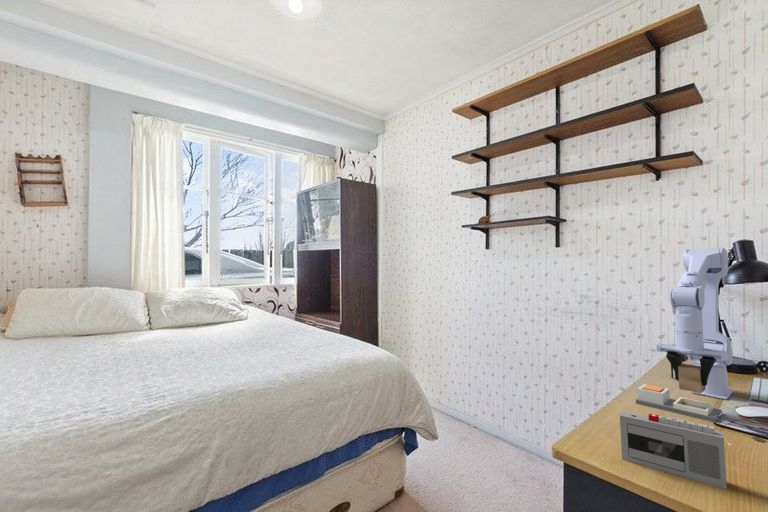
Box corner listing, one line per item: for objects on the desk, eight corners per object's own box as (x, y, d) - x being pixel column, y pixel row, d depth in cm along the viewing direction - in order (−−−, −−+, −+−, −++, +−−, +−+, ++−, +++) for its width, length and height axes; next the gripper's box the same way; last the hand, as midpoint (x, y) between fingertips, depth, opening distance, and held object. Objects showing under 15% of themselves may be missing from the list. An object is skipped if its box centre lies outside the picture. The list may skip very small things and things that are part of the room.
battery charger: (685, 381, 120) (683, 347, 121) (671, 378, 123) (669, 345, 124) (690, 377, 124) (688, 343, 125) (676, 374, 127) (675, 342, 128)
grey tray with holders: (645, 396, 108) (644, 383, 108) (722, 413, 94) (721, 398, 94) (635, 403, 103) (635, 389, 103) (715, 422, 89) (714, 406, 89)
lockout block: (683, 385, 99) (682, 363, 99) (705, 389, 95) (704, 366, 96) (679, 389, 96) (677, 366, 96) (701, 393, 93) (699, 369, 93)
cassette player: (622, 459, 74) (619, 410, 74) (624, 454, 76) (622, 406, 76) (726, 489, 63) (723, 432, 64) (726, 482, 65) (723, 427, 66)
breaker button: (647, 394, 105) (647, 384, 106) (664, 398, 102) (663, 387, 102) (643, 398, 103) (642, 387, 103) (660, 401, 100) (659, 391, 100)
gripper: (651, 330, 100) (654, 379, 99) (722, 337, 88) (725, 392, 88) (659, 327, 104) (662, 374, 103) (728, 333, 93) (731, 386, 92)
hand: (691, 382), depth 96 cm, fingers closed on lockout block, 4 cm apart
